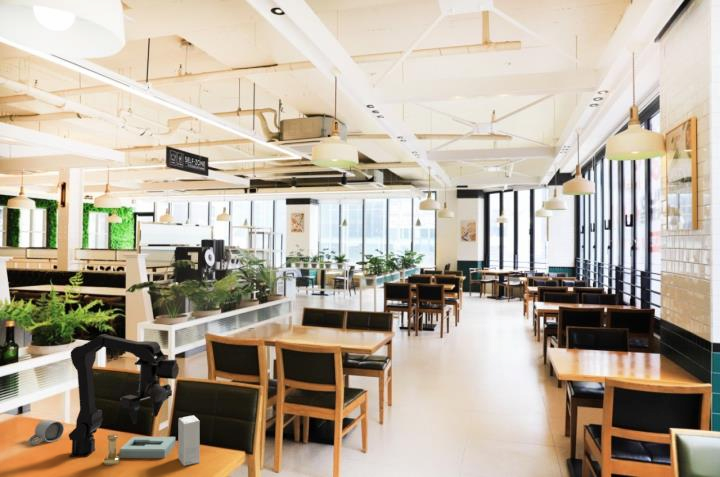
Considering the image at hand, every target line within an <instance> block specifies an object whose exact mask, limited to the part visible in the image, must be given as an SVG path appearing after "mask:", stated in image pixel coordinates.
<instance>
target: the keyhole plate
mask: <svg viewBox="0 0 720 477" xmlns="http://www.w3.org/2000/svg"><path fill="white" fill-rule="evenodd" d="M175 446H176V436H132V437H131V438H130V439H129V440H128V441H127V442H125V444H124V445H122V446H121V447H120V448H119V459H166V457H167V456H168V455H169V453H170V452H171V451H172V450H173V449H174V447H175Z"/></svg>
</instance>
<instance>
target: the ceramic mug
mask: <svg viewBox="0 0 720 477" xmlns="http://www.w3.org/2000/svg"><path fill="white" fill-rule="evenodd" d="M64 432H65V426H64V424H63V423H62V422H61V421H59V420H53V419H45V420H41V421H40V422H38V423H37V425H36V426H35V429H34V434H33V435H32V436H31V437H29V439H28V443H29V445H31V446H36V445H38V444H39V443H42V442H43V441H44V442H47V443H54V441H55V442H56V441H58V440H60V438H61V437H62V436H63V433H64ZM36 438H38V439H36ZM35 439H36V440H35Z"/></svg>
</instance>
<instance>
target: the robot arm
mask: <svg viewBox="0 0 720 477" xmlns="http://www.w3.org/2000/svg"><path fill="white" fill-rule="evenodd" d="M102 348H108V349H113V350H116V351H121V352H124V353H130V354H132V355H133V356H135V357H136V358H138V359H137V361H136V362H134V365H135V366H140V367H139V368H140V369H139V379H137V380H136V383H137V384H138V390H136V392H135V393H136V394H135V395H132V394H128V395H124V396H121V398H120V399H119V406H122V407H123V408H125V409H126V411H127V413H128V414H129V416H130V420H131V422H132V423H133V424H134V425H135V424H137V419H138V410H139V409H140V408H141V405H140V403H141V401H145V400H148V399H151V400H152V408H153V416H154V417H155V418H157V417H158V415H159V413H160V411H161V408H162V406H163V404H164V403H165V401H166V400H168V399H169V398H170V397H172V396H173V390H172V386H171V385H170V384H164V385H160V380H159V379H167V380H169V379H171V380H176V379H177V377H178V375H179V370H180V367H179V365H178V361H177V359H167V357H166V356H165V354H164V353H163V351H162V348H161V346H160V343H159V342H157V341H150V340H149V341H148V340H144V341H135V340H131V339H126V338H122V337H118V336H112V335H109V334H106V333H104V334H100V335H97V336H95V337H94V338H93V339H91V340H89V341H87V342H85V343H84V344H82V345H78V346H75V347H74V348H73V349H72V350H71V352H70V358H71V362H72V366H73V367H74V369H75V370H76V371H77V383H78V384H77V386H78V398H79V399H78V400H79V412H78V415H77V418H76V424H75V428H74V429H72V431H71V432H69V434H68V439H69V441H71V453H70V454H69V455H68V456H69V457H88V456H90V455H91V454H93V452H94V451H95V450H96V448H95V447H96V446H95V445H96V444H95V443H96V438H95V435H94V434H95V433H97V431H98V429H99V428H100V426H102V421H104V418H103V410H102V409H98V408H97V407H96V403H95V402H96V400H95V389H94V387H95V386H94V376H93V374H94V373H93V372H94V371H93V367H94V365H95V361H96V359H97V358H96V357H97V352H99V351H100V350H102ZM157 378H159V379H157Z"/></svg>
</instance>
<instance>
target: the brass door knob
mask: <svg viewBox="0 0 720 477" xmlns="http://www.w3.org/2000/svg"><path fill="white" fill-rule="evenodd" d="M118 436H119V434H116V433H113V434H109V435H107V440H108V448H107V450H108V451H107V452H108V455H107V456H105V458H104V459H103V464H104V466H107V467H110V466H115V465H118V464H119V463H120V455H116V454H117V453H116V452H117V439H118Z"/></svg>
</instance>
